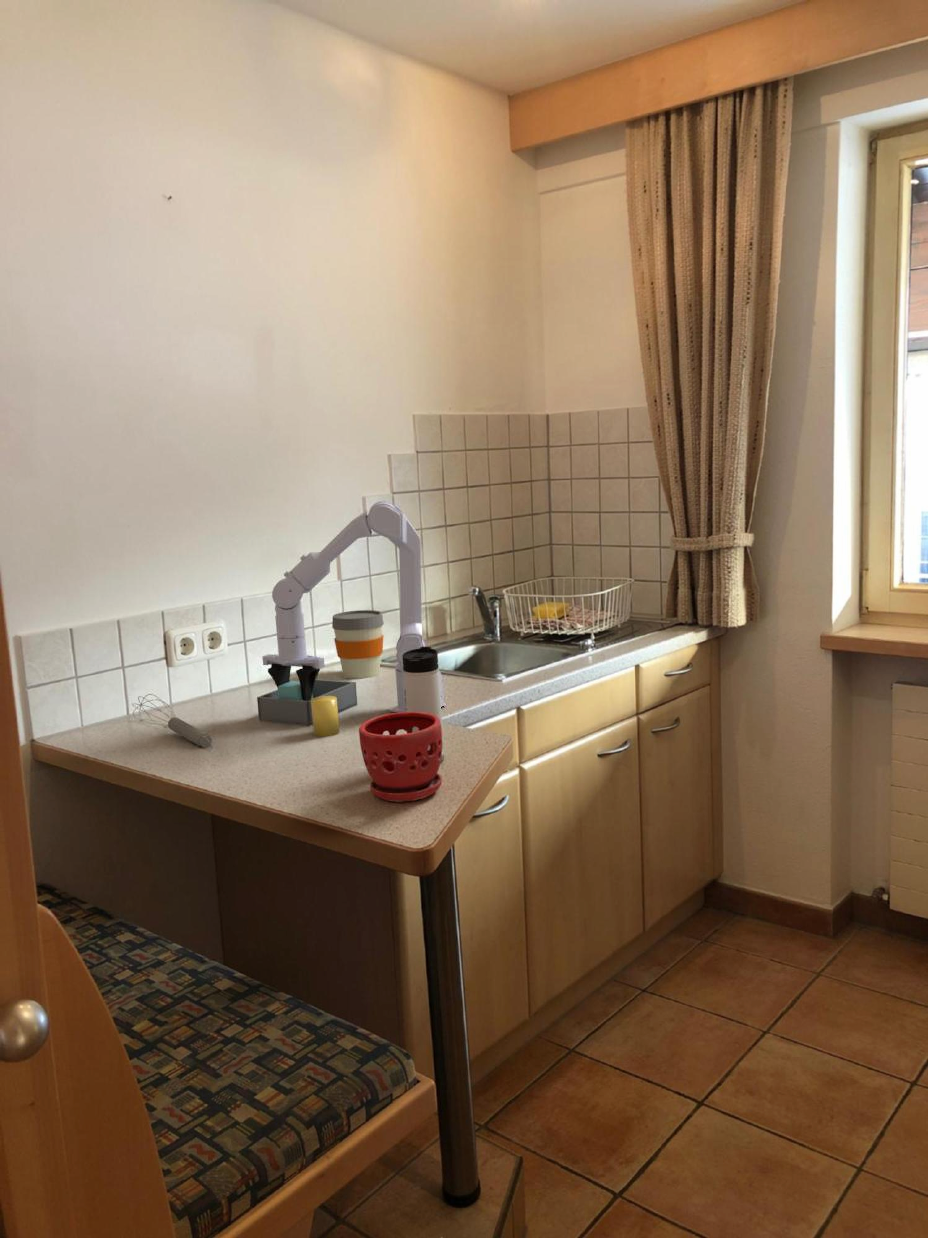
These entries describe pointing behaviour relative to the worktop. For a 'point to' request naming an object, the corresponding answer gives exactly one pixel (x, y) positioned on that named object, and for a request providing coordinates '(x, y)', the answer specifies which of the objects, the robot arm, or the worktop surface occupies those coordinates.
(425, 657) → the travel mug
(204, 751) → the worktop surface
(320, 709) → the cylinder
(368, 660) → the reusable coffee cup
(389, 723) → the plant pot
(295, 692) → the cube
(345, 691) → the tote
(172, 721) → the kitchen whisk
